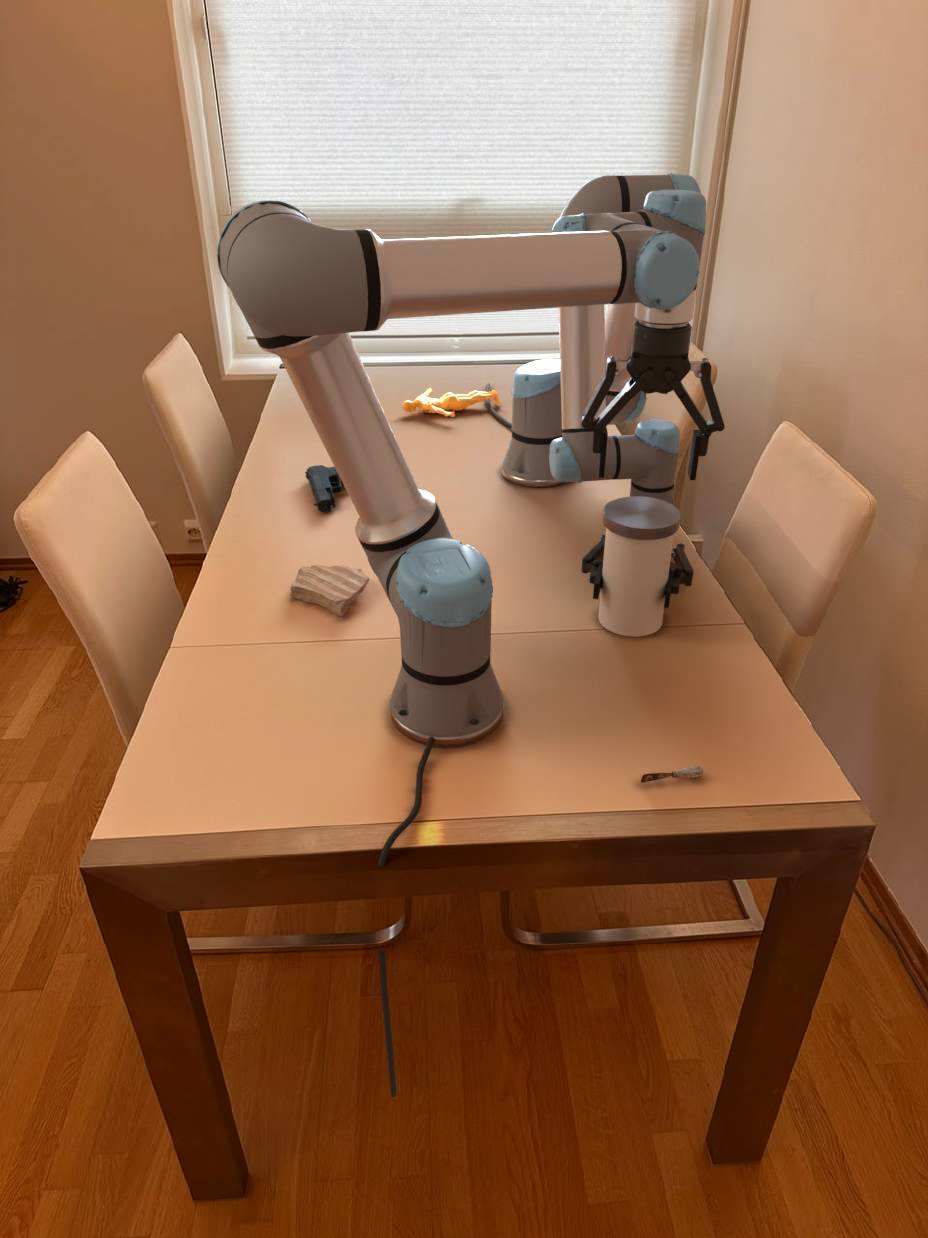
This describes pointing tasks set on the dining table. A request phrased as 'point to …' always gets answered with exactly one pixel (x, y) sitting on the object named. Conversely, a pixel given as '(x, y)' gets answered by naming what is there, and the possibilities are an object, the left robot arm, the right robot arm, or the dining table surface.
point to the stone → (329, 586)
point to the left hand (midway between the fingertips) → (646, 475)
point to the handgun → (324, 485)
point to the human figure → (448, 402)
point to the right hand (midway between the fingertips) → (631, 595)
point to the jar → (634, 584)
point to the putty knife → (674, 774)
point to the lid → (641, 518)
